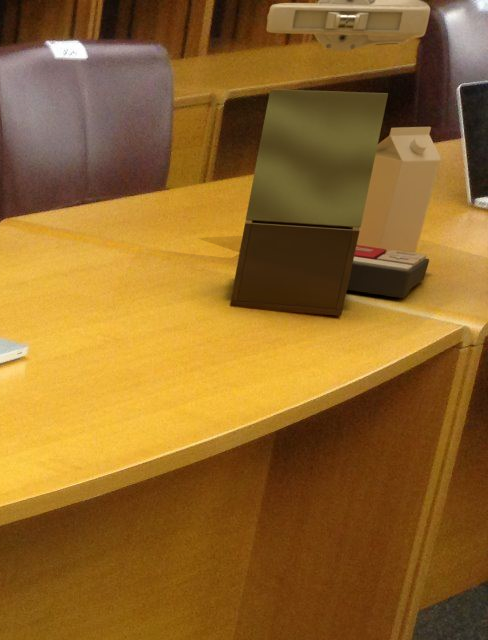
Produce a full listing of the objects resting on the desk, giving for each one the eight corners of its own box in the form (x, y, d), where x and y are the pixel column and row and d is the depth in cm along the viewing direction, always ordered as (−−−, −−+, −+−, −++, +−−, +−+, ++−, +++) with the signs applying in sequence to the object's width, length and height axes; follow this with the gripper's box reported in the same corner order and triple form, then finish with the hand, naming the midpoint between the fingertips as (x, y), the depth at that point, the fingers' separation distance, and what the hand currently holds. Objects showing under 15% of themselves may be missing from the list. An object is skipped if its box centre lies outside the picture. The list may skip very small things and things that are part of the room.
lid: (270, 90, 195) (270, 89, 195) (387, 94, 190) (388, 93, 190) (245, 220, 199) (245, 219, 198) (360, 227, 194) (360, 227, 193)
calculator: (431, 253, 216) (412, 266, 205) (423, 284, 218) (402, 298, 207) (349, 241, 222) (326, 253, 211) (341, 271, 224) (317, 285, 212)
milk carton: (340, 254, 234) (373, 124, 225) (378, 252, 236) (412, 123, 227) (374, 265, 228) (410, 131, 219) (413, 263, 230) (449, 130, 221)
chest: (235, 286, 214) (249, 207, 210) (341, 295, 209) (358, 214, 205) (229, 306, 203) (244, 223, 198) (341, 316, 198) (359, 230, 193)
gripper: (271, -9, 219) (268, -5, 208) (430, -7, 212) (435, -3, 200) (263, 39, 222) (259, 45, 211) (419, 43, 214) (424, 49, 203)
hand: (346, 22), depth 205 cm, fingers closed
